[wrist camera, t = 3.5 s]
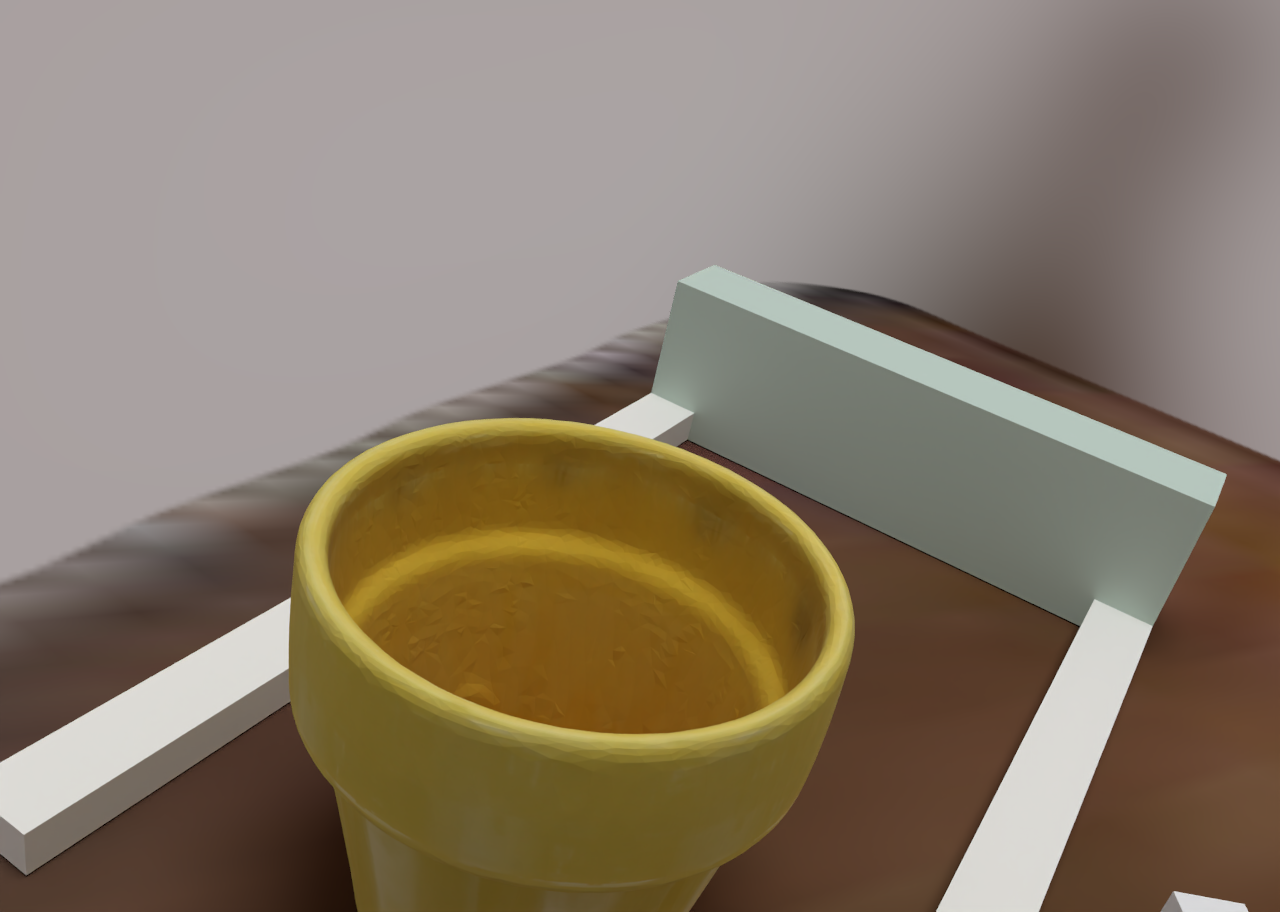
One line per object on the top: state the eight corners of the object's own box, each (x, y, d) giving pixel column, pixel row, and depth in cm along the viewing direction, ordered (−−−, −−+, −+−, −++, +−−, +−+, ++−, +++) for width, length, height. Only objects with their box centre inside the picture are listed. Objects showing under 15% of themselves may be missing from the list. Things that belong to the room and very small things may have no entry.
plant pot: (266, 743, 30) (295, 392, 25) (665, 737, 33) (757, 424, 28) (257, 1170, 21) (298, 758, 16) (798, 1104, 24) (962, 744, 20)
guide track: (792, 1509, 18) (915, 1308, 16) (-35, 825, 26) (-55, 601, 23) (1153, 615, 43) (1226, 474, 41) (681, 397, 51) (714, 264, 48)
